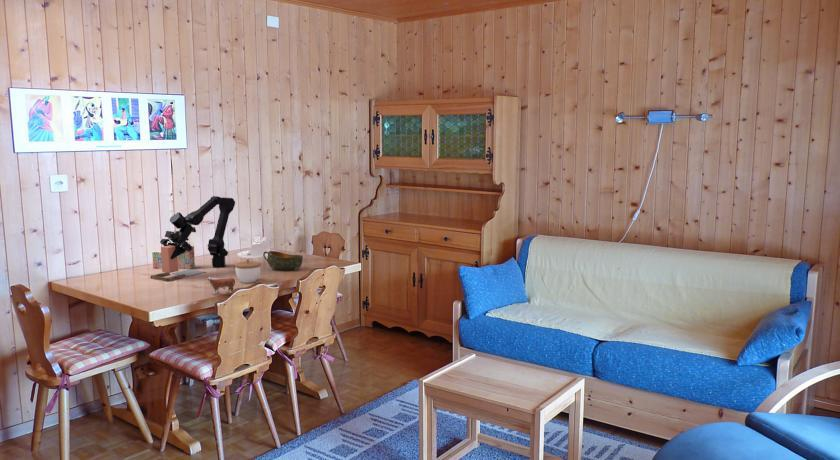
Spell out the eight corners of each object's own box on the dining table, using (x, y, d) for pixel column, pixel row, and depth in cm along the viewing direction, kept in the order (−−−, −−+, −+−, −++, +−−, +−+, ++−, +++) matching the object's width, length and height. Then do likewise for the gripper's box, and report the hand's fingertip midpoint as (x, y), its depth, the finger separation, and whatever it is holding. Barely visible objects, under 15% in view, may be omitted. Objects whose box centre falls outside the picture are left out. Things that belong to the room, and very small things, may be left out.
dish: (250, 250, 424) (249, 233, 423) (286, 252, 418) (285, 234, 416) (229, 257, 401) (228, 239, 399) (267, 259, 394) (266, 240, 393)
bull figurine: (206, 292, 312) (206, 275, 311) (236, 292, 313) (235, 275, 312) (204, 295, 308) (204, 277, 307) (234, 294, 309) (233, 277, 308)
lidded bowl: (266, 281, 337) (265, 259, 335) (244, 285, 328) (243, 263, 326) (251, 277, 345) (251, 256, 344) (230, 281, 336) (229, 259, 334)
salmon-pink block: (171, 269, 348) (169, 245, 346) (178, 271, 345) (176, 246, 343) (162, 271, 343) (160, 247, 341) (169, 273, 340) (167, 247, 338)
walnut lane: (168, 274, 351) (168, 271, 351) (185, 277, 345) (185, 274, 344) (150, 278, 342) (150, 275, 342) (167, 281, 335) (167, 278, 335)
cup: (279, 265, 376) (278, 247, 374) (305, 269, 365) (305, 251, 363) (262, 269, 365) (261, 251, 364) (288, 274, 354) (288, 255, 353)
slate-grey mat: (190, 270, 363) (190, 269, 363) (205, 272, 357) (205, 271, 357) (172, 274, 353) (172, 273, 353) (187, 276, 347) (187, 275, 347)
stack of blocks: (152, 268, 367) (151, 246, 365) (158, 266, 373) (157, 244, 371) (190, 269, 365) (189, 247, 363) (195, 267, 371) (194, 245, 369)
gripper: (161, 223, 349) (145, 247, 341) (186, 226, 339) (169, 250, 331) (175, 236, 356) (159, 259, 349) (199, 239, 347) (183, 263, 339)
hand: (167, 258), depth 342 cm, fingers closed on salmon-pink block, 5 cm apart
